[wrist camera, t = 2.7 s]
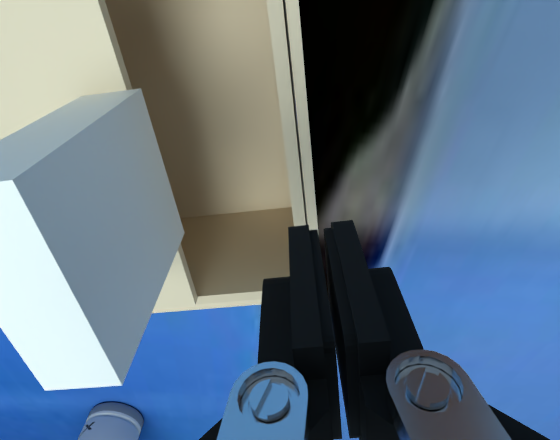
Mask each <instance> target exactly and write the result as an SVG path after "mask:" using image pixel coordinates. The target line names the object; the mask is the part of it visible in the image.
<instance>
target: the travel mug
mask: <svg viewBox="0 0 560 440" xmlns="http://www.w3.org/2000/svg"><path fill="white" fill-rule="evenodd" d="M142 426H143V418H142V416H141V414H140V413H139V412H138V411H137V410H136V409H134V408H133V407H131V406H128V405H126V404H122V403H116V402H107V403H102V404H99V405H97V406H95V407H94V408H93V409H92V410H91V412H90V414H89V416H88V418H87V420H86V423H85V425H84V427H83V429H82V431H81V433H80V436H79V438H78V440H138V438H139V435H140V432H141V429H142Z"/></svg>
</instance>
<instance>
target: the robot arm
mask: <svg viewBox="0 0 560 440" xmlns="http://www.w3.org/2000/svg"><path fill="white" fill-rule="evenodd" d="M288 239H289V270H290V276H288V277H278V278H267V279H264V280H263V285H262V302H261V318H260V334H259V351H258V364H257V365H255V366H252V367H251V368H249V369H248V370H246V371H245V372H243V373H242V374H241V375H240V377H239V378H238V379H237V380H236V381H235V383H234V385H233V387H232V389H231V392H230V395H229V398H228V402H227V405H226V409H225V412H224V416H223V418H222V419H221V420H220V421H219V422H218V423H216V424H215V425H214V426H213V427H212V428H211V429H210V430H209V431H208V432H207V433H206V434H205V435H203V436H202V437H201V438H200V439H199V440H333V439H342V432H341V418H340V404H339V390H338V375H337V361H336V354H337V360H338V366H339V373H340V379H341V386H342V392H343V399H344V405H345V412H346V418H347V425H348V431H349V436H350V438H359V440H550V439H548V438H546V437H544V436H543V435H541V434H539V433H537V432H536V431H534V430H532V429H530V428H529V427H527V426H525V425H523V424H522V423H520V422H518V421H516V420H515V419H513V418H511V417H509V416H508V415H506V414H504V413H502V412H501V411H499V410H497V409H495V408H494V407H492V406H490V405H488V404H487V403H486V401H485V400H484V398H483V397H482V395H481V394H480V392H479V391H478V389H477V388H476V386H475V385H474V383H473V382H472V380H471V379H470V377H469V376H468V374H467V373H466V372H465V371H464V370H463V369H462V368H461V366H460V365H459V364H458V363H456V362H455V361H453V360H452V359H450V358H449V357H447V356H445V355H442V354H440V353H437V352H435V351H429V350H424V349H423V346H422V344H421V341H420V339H419V336H418V334H417V331H416V329H415V326H414V324H413V321H412V319H411V316H410V314H409V311H408V309H407V306H406V304H405V301H404V299H403V296H402V294H401V291H400V289H399V286H398V284H397V281H396V279H395V276H394V274H393V272H392V270H391V268H390V267H383V268H372V269H368V267H367V264H366V260H365V257H364V254H363V251H362V248H361V245H360V242H359V238H358V235H357V232H356V229H355V226H354V223H353V220H349V221H340V222H331V228H325V229H324V239H325V253H326V266H327V279H328V292H329V301H328V294H327V288H326V281H325V275H324V269H323V262H322V256H321V249H320V243H319V236H318V230H317V229H316V230H309V225H301V226H292V227H288ZM329 305H330V307H329ZM335 347H336V349H335Z"/></svg>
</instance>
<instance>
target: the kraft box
mask: <svg viewBox="0 0 560 440" xmlns="http://www.w3.org/2000/svg"><path fill="white" fill-rule="evenodd" d="M105 3H106V6H107V9H108V13H109V16H110V19H111V22H112V25H113V29H114V32H115V35H116V38H117V41H118V45H119V48H120V51H121V54H122V57H123V61H124V64H125V67H126V70H127V73H128V77H129V80H130V83H131V86H132V89H140V88H141V90H142V93H143V97H144V100H145V103H146V107H147V110H148V113H149V117H150V120H151V123H152V127H153V130H154V133H155V137H156V140H157V143H158V146H159V150H160V153H161V156H162V160H163V163H164V166H165V170H166V173H167V176H168V180H169V183H170V186H171V190H172V193H173V196H174V200H175V203H176V206H177V209H178V213H179V216H180V219H181V223H182V226H183V229H184V236H183V238H182V241H181V246H182V249H183V252H184V255H185V259H186V262H187V265H188V268H189V271H190V275H191V278H192V281H193V284H194V287H195V291H196V294H197V297H198V298H197V302H196V305H189V306H177V307H165V308H154V309H153V311H152V313H161V312H173V311H185V310H198V309H210V308H222V307H235V306H247V305H259V304H261V302H262V285H263V280H264V279H267V278H278V277H288V276H290V270H289V239H288V227H292V226H301V225H307V222H308V225H309V230H316V229H317V230H318V224H317V212H316V201H315V189H314V177H313V165H312V153H311V142H310V130H309V118H308V106H307V95H306V83H305V71H304V59H303V48H302V36H301V24H300V12H299V1H298V0H285V1H284V0H105ZM285 3H286V10H285ZM286 13H287V20H286ZM287 23H288V30H287ZM288 33H289V40H288ZM289 43H290V50H289ZM290 53H291V60H290ZM291 62H292V70H291ZM292 72H293V79H292ZM293 82H294V89H293ZM294 92H295V99H294ZM295 102H296V109H295ZM296 112H297V119H296ZM297 122H298V129H297ZM298 132H299V139H298ZM299 142H300V148H299ZM300 152H301V158H300ZM301 162H302V168H301ZM302 172H303V178H302ZM303 182H304V188H303ZM304 192H305V198H304ZM305 202H306V208H305ZM306 212H307V219H306Z"/></svg>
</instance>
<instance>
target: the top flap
mask: <svg viewBox="0 0 560 440" xmlns="http://www.w3.org/2000/svg"><path fill="white" fill-rule="evenodd" d="M183 236H184V229H183V226H182V223H181V219H180V216H179V213H178V209H177V206H176V203H175V200H174V196H173V193H172V190H171V186H170V183H169V180H168V176H167V173H166V170H165V166H164V163H163V160H162V156H161V153H160V150H159V146H158V143H157V140H156V137H155V133H154V130H153V127H152V123H151V120H150V117H149V113H148V110H147V107H146V103H145V100H144V97H143V93H142V90H141V88H140V89H132V86H131V83H130V80H129V77H128V73H127V70H126V67H125V64H124V61H123V57H122V54H121V51H120V48H119V45H118V41H117V38H116V35H115V32H114V29H113V25H112V22H111V19H110V16H109V13H108V9H107V6H106V3H105V0H0V328H1V329H2V330H3V332H4V333H5V335H6V336H7V337H8V339H9V340H10V342H11V343H12V344H13V346H14V347H15V349H16V350H17V352H18V353H19V354H20V356H21V357H22V359H23V360H24V361H25V363H26V364H27V366H28V367H29V368H30V370H31V371H32V373H33V374H34V376H35V377H36V378H37V380H38V381H39V383H40V384H41V385H42V387H43V388H44V390H45V391H46V390H61V389H76V388H91V387H106V386H121V385H123V382H124V380H125V377H126V375H127V372H128V370H129V368H130V365H131V363H132V360H133V358H134V355H135V353H136V350H137V348H138V346H139V343H140V341H141V338H142V336H143V333H144V331H145V328H146V326H147V324H148V321H149V319H150V316H151V314H152V311H153V309H154V308H165V307H177V306H189V305H196V302H197V298H198V297H197V294H196V291H195V287H194V284H193V281H192V278H191V275H190V271H189V268H188V265H187V262H186V259H185V255H184V252H183V249H182V246H181V241H182V238H183Z"/></svg>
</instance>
